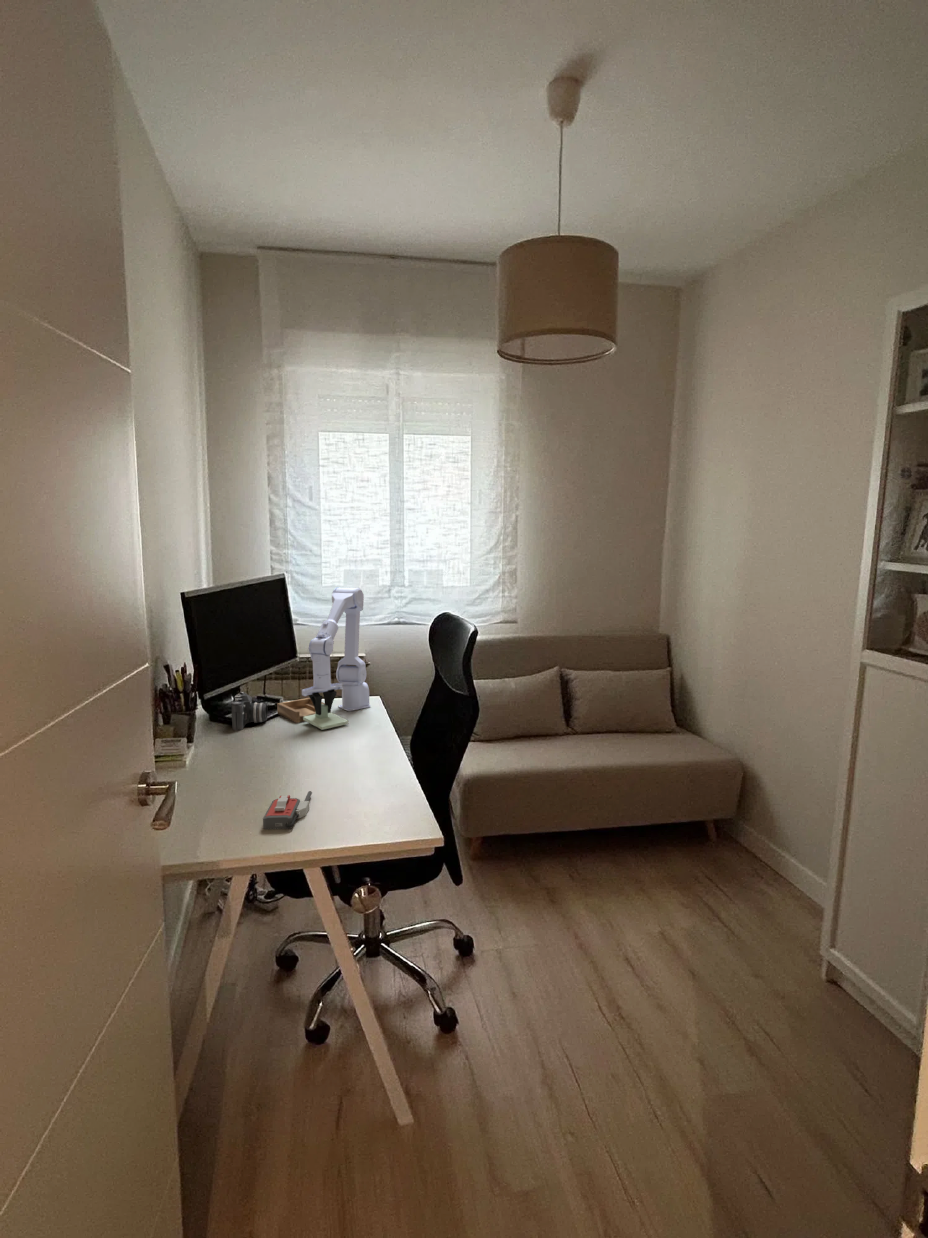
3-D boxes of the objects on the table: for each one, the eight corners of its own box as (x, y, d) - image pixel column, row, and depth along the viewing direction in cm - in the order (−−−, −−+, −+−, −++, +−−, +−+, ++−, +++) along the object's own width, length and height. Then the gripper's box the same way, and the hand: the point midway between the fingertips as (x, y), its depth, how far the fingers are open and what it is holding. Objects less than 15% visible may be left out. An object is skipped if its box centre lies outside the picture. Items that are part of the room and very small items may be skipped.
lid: (328, 714, 248) (328, 700, 247) (348, 723, 239) (348, 709, 239) (303, 719, 241) (303, 705, 240) (322, 729, 233) (322, 715, 232)
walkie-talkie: (300, 832, 159) (314, 797, 179) (300, 813, 159) (314, 780, 178) (260, 833, 159) (279, 798, 179) (259, 814, 158) (278, 781, 178)
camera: (264, 729, 236) (263, 700, 235) (230, 731, 235) (228, 701, 233) (269, 717, 250) (267, 689, 249) (236, 719, 249) (235, 691, 247)
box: (311, 707, 263) (310, 697, 262) (330, 716, 251) (330, 705, 250) (277, 713, 254) (277, 703, 254) (296, 723, 243) (296, 712, 242)
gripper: (334, 668, 247) (335, 707, 249) (296, 675, 237) (298, 715, 239) (345, 671, 242) (346, 711, 244) (307, 678, 232) (309, 719, 234)
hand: (323, 713), depth 241 cm, fingers closed on lid, 3 cm apart
